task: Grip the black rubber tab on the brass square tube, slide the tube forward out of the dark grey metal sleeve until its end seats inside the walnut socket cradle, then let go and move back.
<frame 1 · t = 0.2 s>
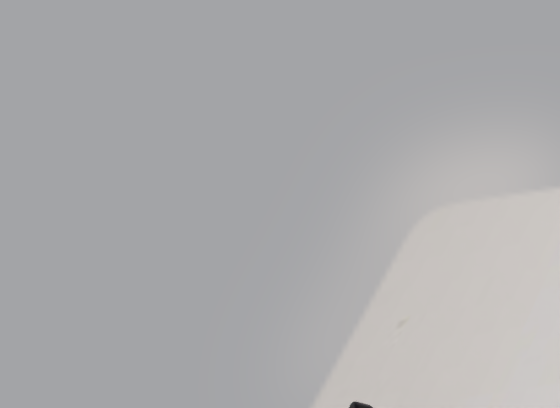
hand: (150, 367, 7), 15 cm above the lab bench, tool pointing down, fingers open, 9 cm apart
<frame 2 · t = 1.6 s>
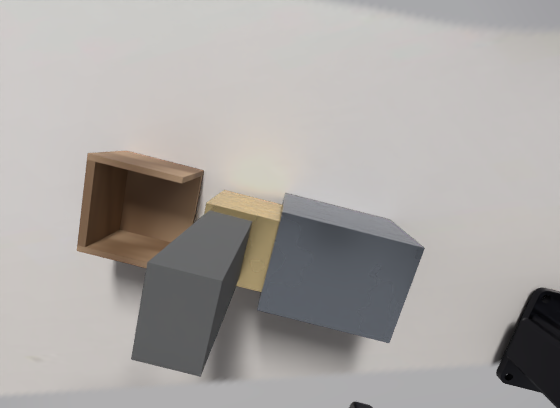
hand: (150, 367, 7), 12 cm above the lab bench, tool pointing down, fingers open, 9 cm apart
slip tube: (293, 274, 13), point 5 cm above the lab bench, slide at 0.0 cm
socket: (158, 201, 18), on the lab bench
sleeve: (324, 243, 18), on the lab bench
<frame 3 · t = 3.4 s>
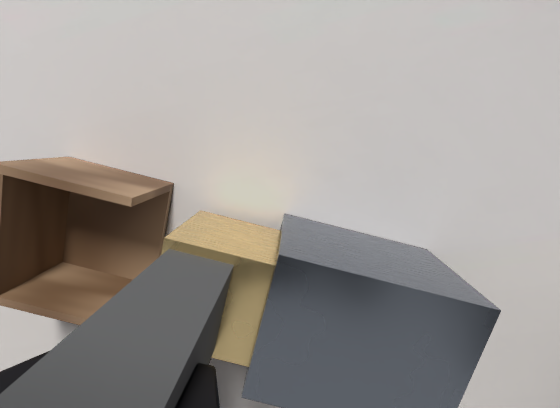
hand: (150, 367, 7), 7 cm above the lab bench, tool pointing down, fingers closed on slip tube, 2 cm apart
slip tube: (296, 353, 8), point 5 cm above the lab bench, slide at 0.0 cm, touching gripper
socket: (113, 224, 14), on the lab bench
sleeve: (336, 280, 14), on the lab bench
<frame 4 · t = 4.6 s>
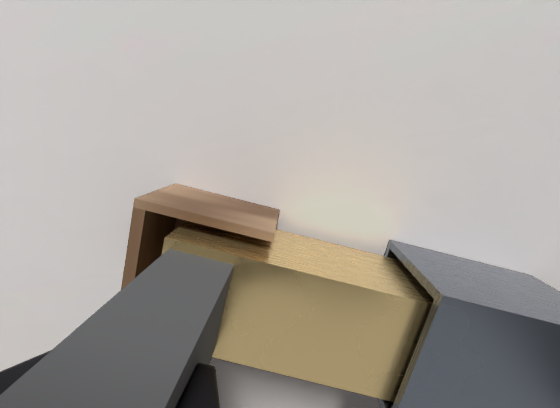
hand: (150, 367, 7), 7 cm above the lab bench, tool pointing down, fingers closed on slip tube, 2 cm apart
slip tube: (296, 352, 8), point 5 cm above the lab bench, slide at 4.7 cm, touching gripper
socket: (216, 250, 14), on the lab bench
sleeve: (437, 305, 14), on the lab bench
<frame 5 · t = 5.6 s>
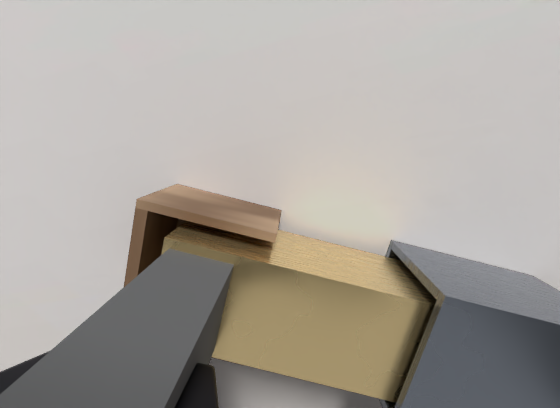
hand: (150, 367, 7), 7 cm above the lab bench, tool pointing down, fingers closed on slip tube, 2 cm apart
slip tube: (295, 352, 8), point 5 cm above the lab bench, slide at 4.7 cm, touching gripper
socket: (217, 250, 14), on the lab bench
sleeve: (439, 306, 14), on the lab bench
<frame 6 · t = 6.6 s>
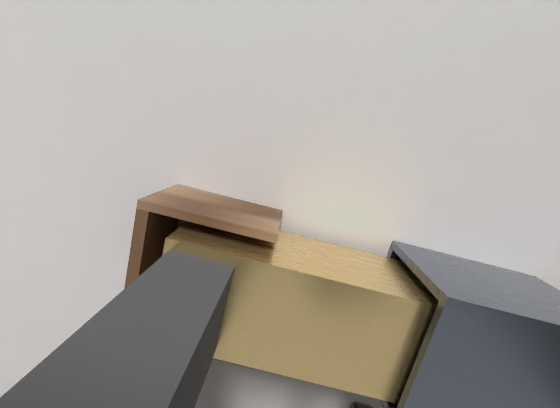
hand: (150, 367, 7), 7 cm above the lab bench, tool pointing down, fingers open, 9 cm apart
slip tube: (297, 353, 8), point 5 cm above the lab bench, slide at 4.7 cm
socket: (218, 251, 14), on the lab bench
sleeve: (440, 306, 14), on the lab bench
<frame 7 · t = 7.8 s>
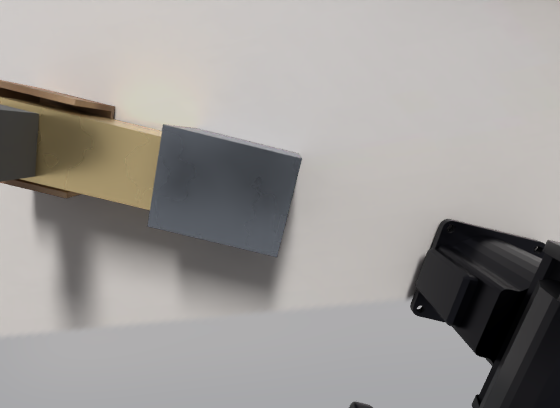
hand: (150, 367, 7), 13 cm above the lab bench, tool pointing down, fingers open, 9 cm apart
slip tube: (66, 159, 13), point 5 cm above the lab bench, slide at 4.7 cm
socket: (72, 139, 18), on the lab bench
sleeve: (236, 179, 19), on the lab bench
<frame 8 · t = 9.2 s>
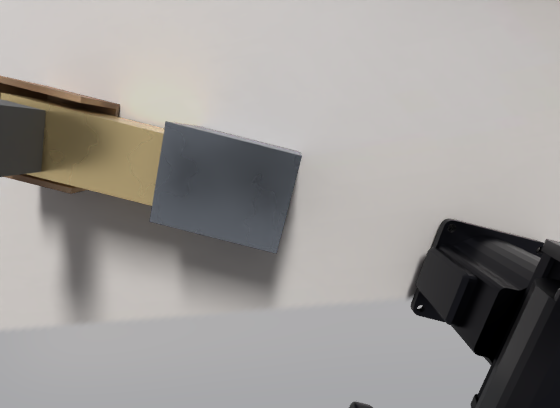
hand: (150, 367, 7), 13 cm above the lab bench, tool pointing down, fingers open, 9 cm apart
slip tube: (71, 154, 14), point 5 cm above the lab bench, slide at 4.7 cm
socket: (78, 136, 19), on the lab bench
sleeve: (238, 177, 19), on the lab bench
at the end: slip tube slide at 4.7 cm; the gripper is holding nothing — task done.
